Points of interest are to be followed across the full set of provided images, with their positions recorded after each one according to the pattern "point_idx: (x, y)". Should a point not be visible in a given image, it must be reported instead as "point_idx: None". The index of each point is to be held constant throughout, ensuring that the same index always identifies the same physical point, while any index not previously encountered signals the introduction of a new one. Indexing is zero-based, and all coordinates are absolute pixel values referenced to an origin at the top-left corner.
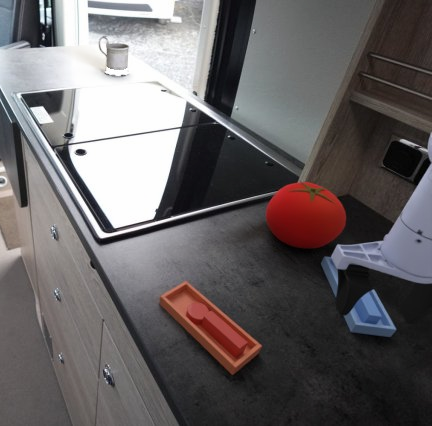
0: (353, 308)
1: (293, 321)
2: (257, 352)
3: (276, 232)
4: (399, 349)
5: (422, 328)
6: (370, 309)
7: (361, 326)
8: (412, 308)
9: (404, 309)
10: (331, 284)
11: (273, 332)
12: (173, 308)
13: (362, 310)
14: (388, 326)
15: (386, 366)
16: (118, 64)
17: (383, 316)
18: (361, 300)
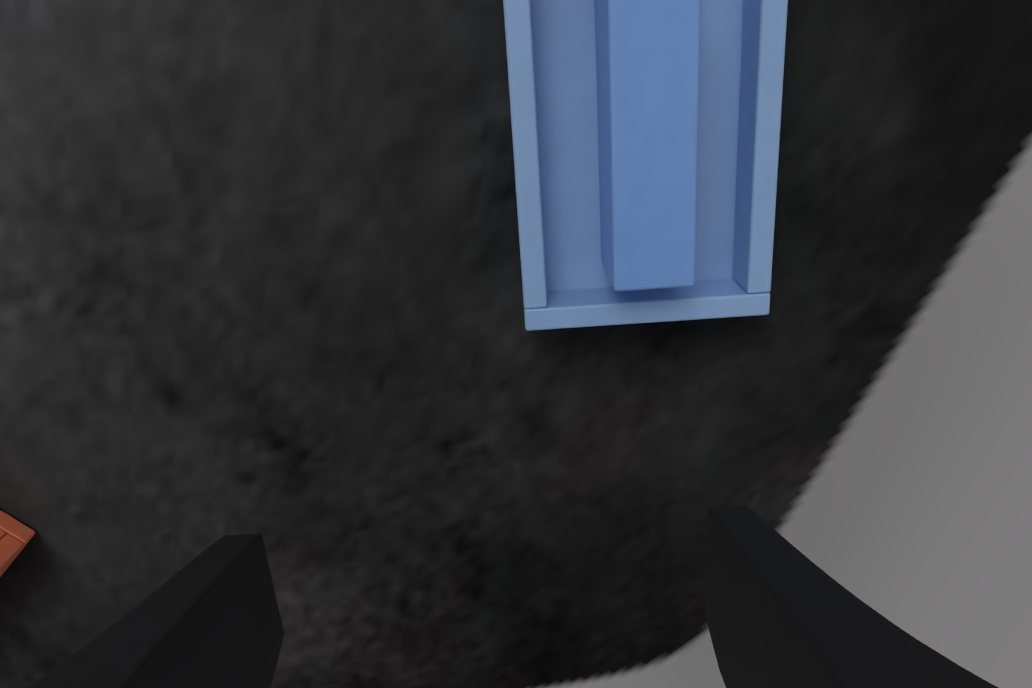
0: (589, 128)
1: (205, 300)
2: (10, 560)
3: None
4: (756, 360)
5: (986, 176)
6: (638, 239)
7: (562, 326)
8: (743, 651)
9: (720, 561)
10: None
11: (97, 399)
12: None
13: (607, 205)
14: (727, 303)
15: (640, 470)
16: None
17: (746, 198)
18: (611, 149)
